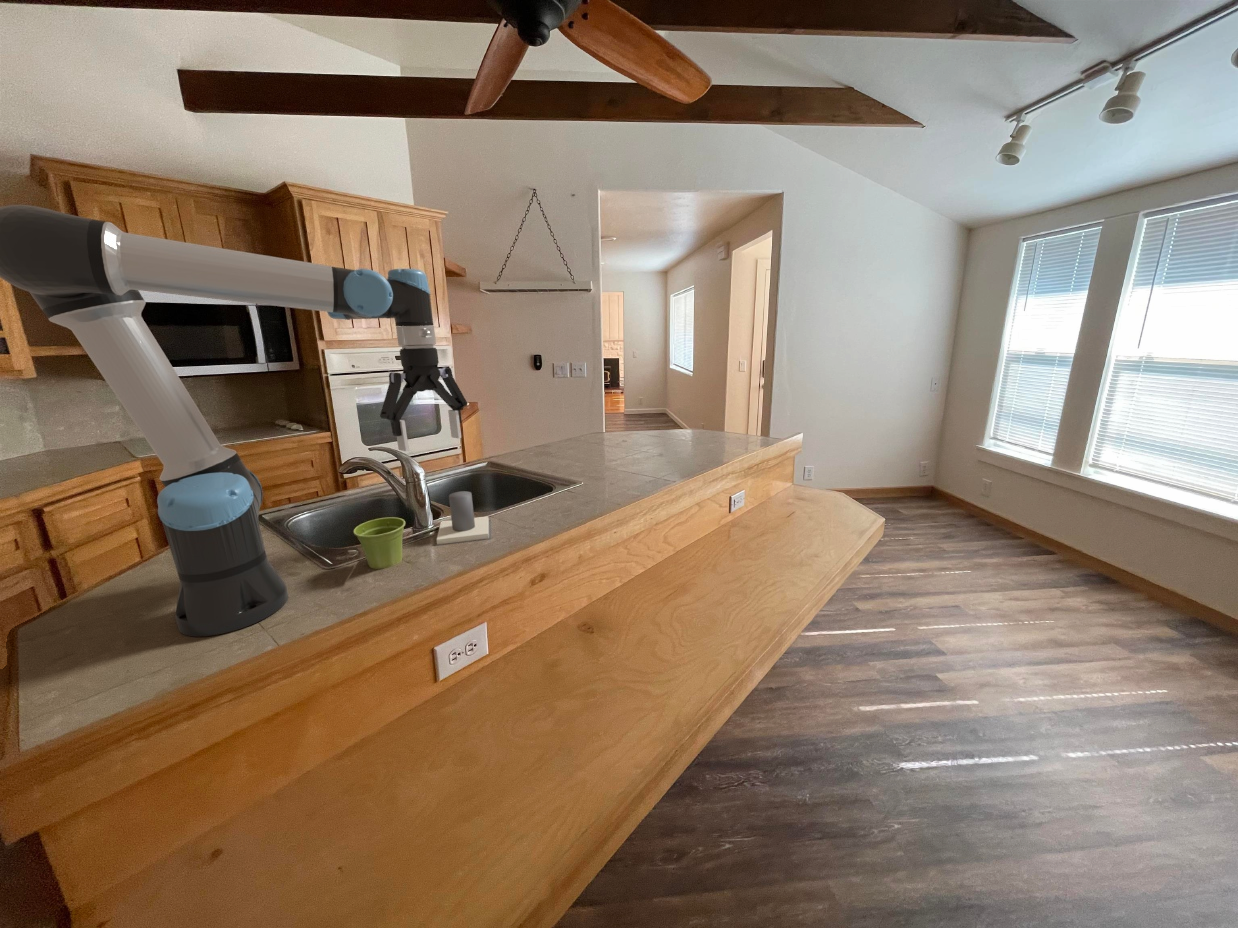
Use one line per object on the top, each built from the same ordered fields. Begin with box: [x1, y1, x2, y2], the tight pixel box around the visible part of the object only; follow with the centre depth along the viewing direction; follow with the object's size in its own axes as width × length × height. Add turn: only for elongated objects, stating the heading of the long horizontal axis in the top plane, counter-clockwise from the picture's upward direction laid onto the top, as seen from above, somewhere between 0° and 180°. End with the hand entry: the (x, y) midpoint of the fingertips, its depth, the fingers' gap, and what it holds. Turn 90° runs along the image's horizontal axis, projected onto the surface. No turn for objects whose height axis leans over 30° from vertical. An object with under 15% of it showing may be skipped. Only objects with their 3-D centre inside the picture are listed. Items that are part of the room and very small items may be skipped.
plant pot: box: [353, 516, 406, 570], centre depth 98 cm, size 9×9×9 cm
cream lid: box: [436, 490, 490, 545], centre depth 111 cm, size 11×11×9 cm
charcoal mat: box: [434, 519, 492, 547], centre depth 113 cm, size 12×12×1 cm
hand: (431, 443), depth 109 cm, fingers open, 13 cm apart
